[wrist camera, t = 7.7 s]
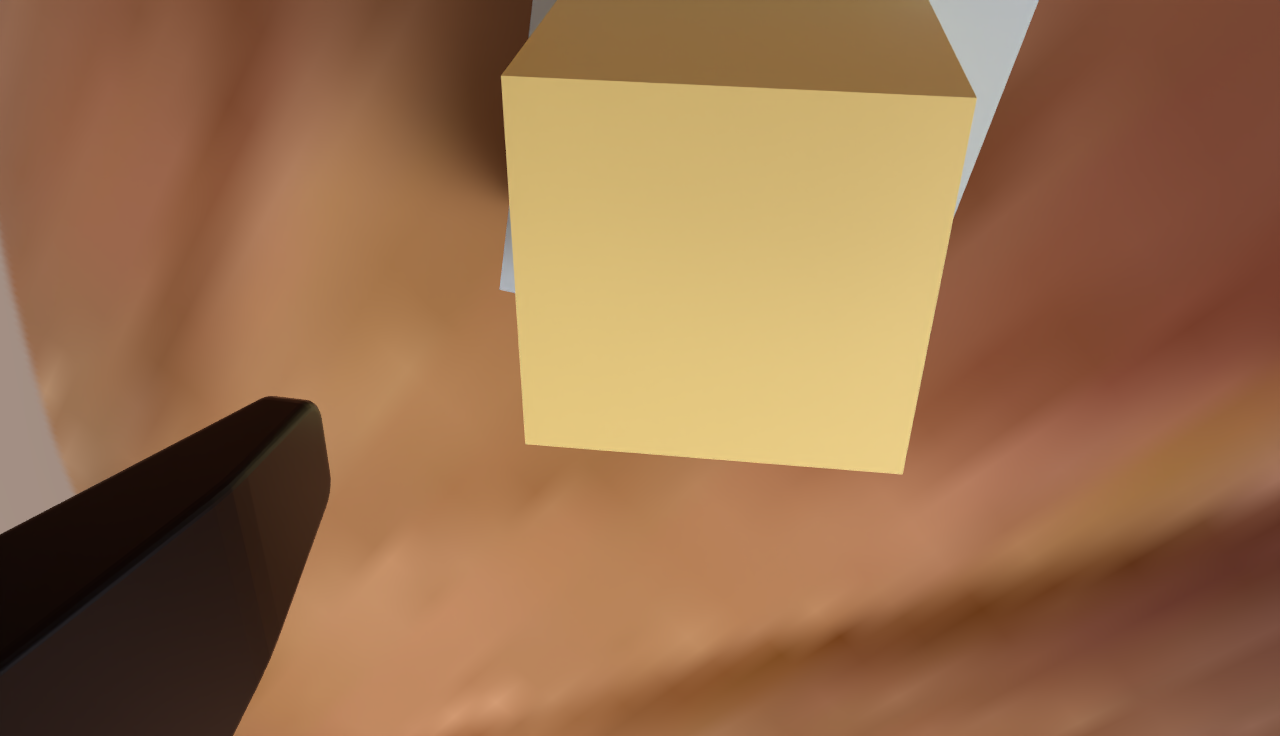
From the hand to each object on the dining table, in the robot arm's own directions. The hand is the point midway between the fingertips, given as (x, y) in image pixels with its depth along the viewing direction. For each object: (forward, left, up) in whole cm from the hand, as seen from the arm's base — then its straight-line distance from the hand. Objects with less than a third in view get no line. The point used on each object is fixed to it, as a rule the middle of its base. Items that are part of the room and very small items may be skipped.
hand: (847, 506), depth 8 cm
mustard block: (+1, 0, -9) cm, 9 cm away
